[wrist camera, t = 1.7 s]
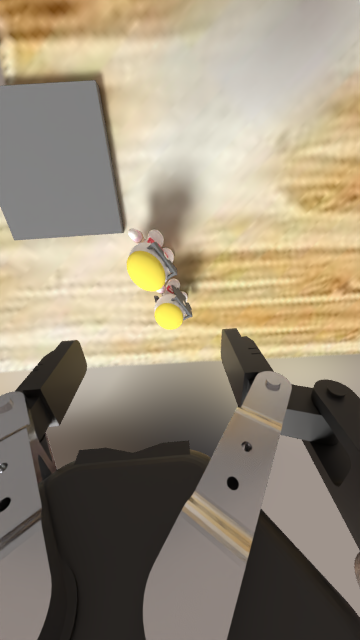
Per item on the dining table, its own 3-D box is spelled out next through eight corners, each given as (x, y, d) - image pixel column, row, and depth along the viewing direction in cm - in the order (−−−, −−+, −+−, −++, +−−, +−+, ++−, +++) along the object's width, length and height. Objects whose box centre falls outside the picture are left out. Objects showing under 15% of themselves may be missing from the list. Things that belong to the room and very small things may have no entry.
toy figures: (193, 305, 29) (201, 338, 22) (164, 316, 30) (162, 351, 22) (160, 216, 23) (155, 219, 16) (125, 230, 24) (105, 240, 17)
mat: (98, 86, 18) (95, 80, 18) (123, 232, 24) (122, 232, 23) (-38, 94, 18) (-49, 88, 17) (20, 239, 24) (14, 240, 23)
